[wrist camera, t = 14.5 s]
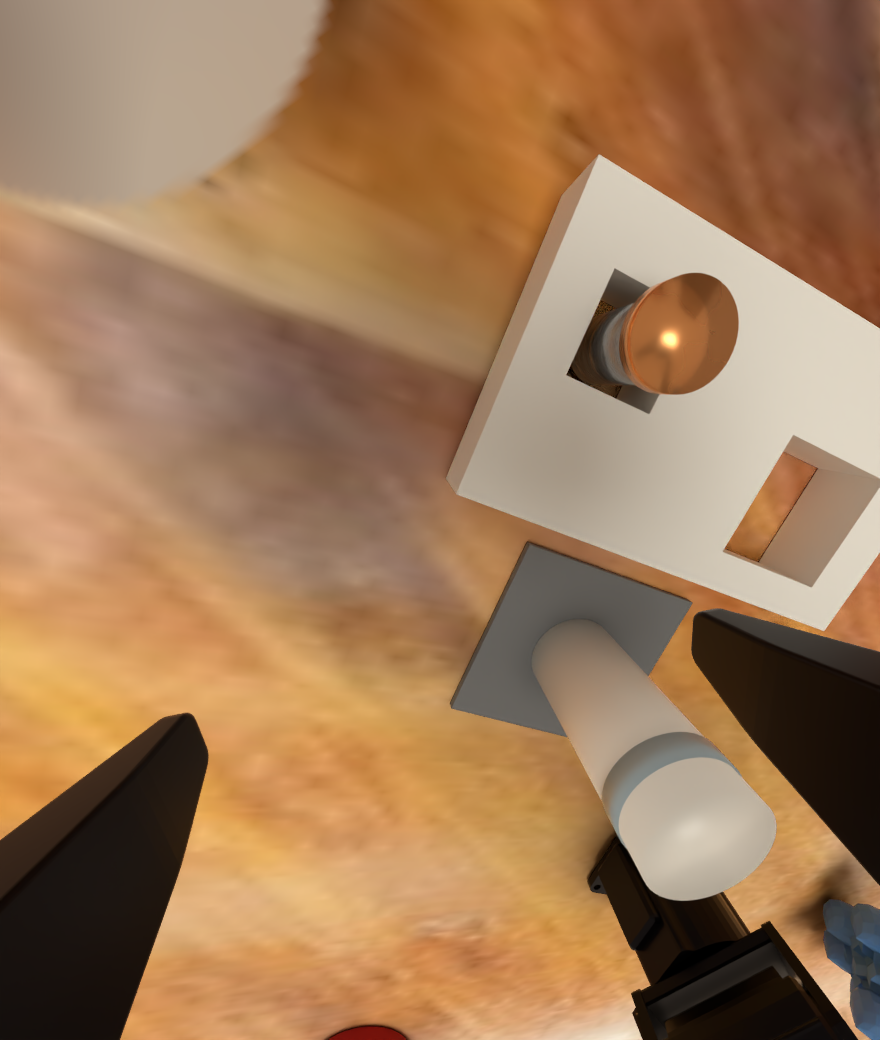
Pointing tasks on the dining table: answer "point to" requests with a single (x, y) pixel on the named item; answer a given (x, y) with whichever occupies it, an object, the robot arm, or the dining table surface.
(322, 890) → the dining table surface
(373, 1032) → the canned food
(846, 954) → the blue flower shape
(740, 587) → the housing
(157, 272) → the dining table surface
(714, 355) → the copper capped cylinder
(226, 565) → the dining table surface
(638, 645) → the mat
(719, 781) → the cylinder
